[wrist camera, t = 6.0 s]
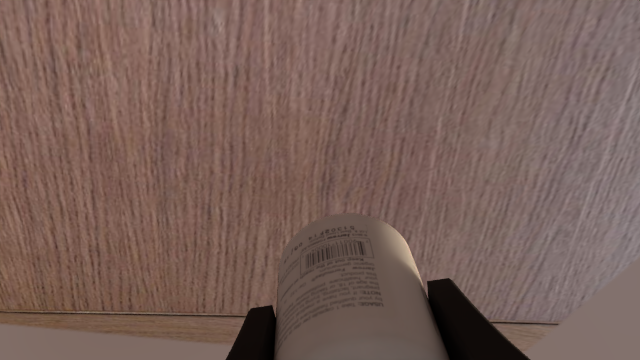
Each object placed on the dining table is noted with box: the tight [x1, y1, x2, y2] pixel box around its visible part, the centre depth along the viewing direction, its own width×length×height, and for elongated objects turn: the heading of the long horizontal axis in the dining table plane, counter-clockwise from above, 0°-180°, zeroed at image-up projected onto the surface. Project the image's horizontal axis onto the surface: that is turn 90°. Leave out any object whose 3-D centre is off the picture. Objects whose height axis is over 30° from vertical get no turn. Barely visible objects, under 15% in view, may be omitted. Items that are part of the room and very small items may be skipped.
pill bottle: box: [273, 213, 450, 360], centre depth 12 cm, size 4×4×8 cm
